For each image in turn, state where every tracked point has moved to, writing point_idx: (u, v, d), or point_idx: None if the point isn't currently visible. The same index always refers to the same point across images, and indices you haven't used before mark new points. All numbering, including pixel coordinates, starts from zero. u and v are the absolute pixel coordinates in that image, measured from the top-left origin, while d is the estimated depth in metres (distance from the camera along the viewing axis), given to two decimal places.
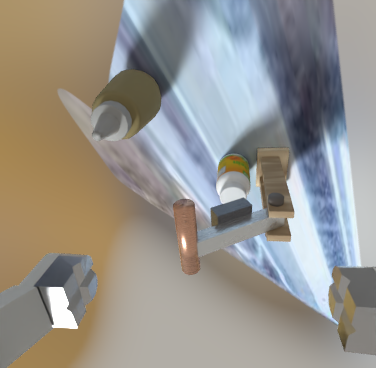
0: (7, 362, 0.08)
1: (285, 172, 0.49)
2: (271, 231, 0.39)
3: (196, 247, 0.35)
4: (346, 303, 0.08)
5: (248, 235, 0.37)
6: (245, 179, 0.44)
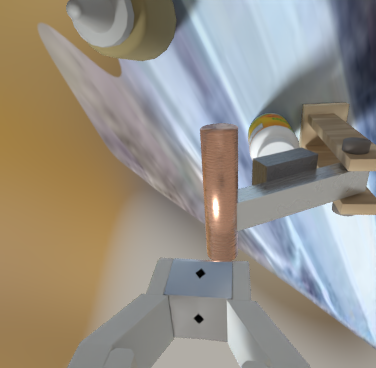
0: None
1: None
2: (347, 199, 0.25)
3: (236, 211, 0.20)
4: None
5: (315, 200, 0.23)
6: (293, 135, 0.31)
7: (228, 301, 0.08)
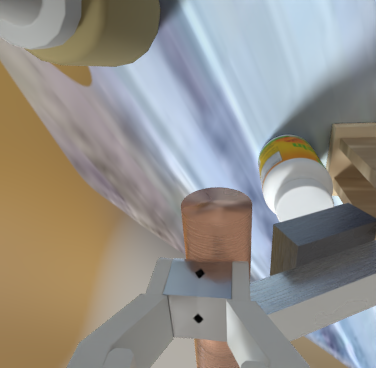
0: None
1: None
2: None
3: None
4: None
5: (375, 298, 0.14)
6: (326, 173, 0.22)
7: (227, 301, 0.08)
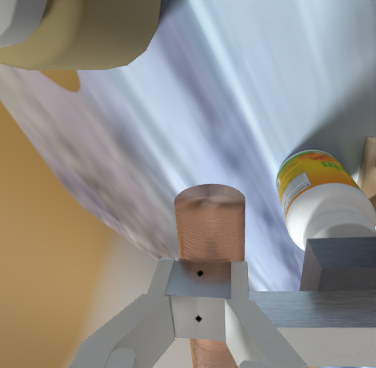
0: None
1: None
2: None
3: None
4: None
5: None
6: (368, 203, 0.18)
7: (226, 301, 0.08)
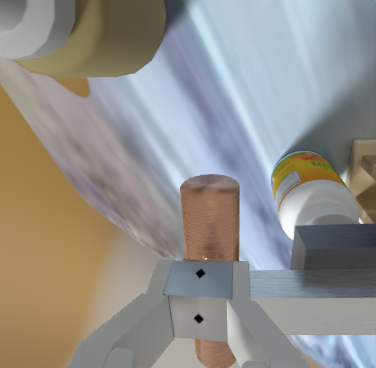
0: None
1: None
2: None
3: None
4: None
5: None
6: (352, 197, 0.20)
7: (228, 301, 0.08)
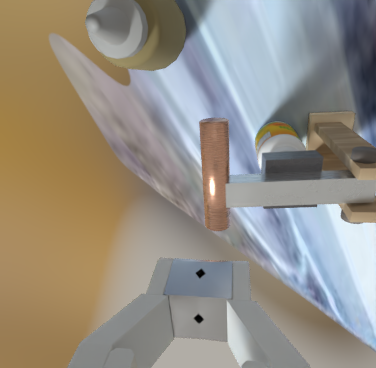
0: None
1: None
2: (356, 207, 0.25)
3: (223, 189, 0.25)
4: None
5: (308, 198, 0.25)
6: (301, 144, 0.32)
7: (228, 301, 0.08)
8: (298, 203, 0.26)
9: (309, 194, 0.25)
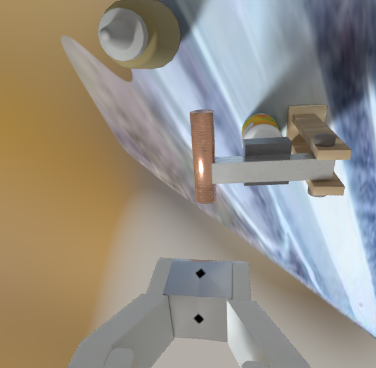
0: None
1: None
2: (318, 183, 0.31)
3: (210, 168, 0.31)
4: None
5: (279, 176, 0.31)
6: (278, 132, 0.37)
7: (228, 301, 0.08)
8: (271, 180, 0.31)
9: (280, 172, 0.31)
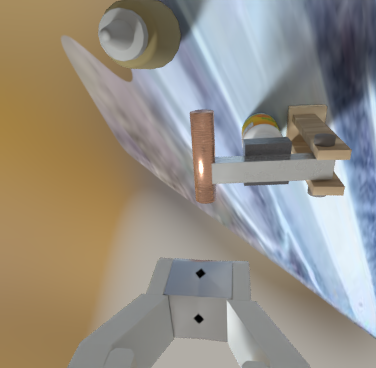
0: None
1: None
2: (318, 183, 0.31)
3: (210, 168, 0.31)
4: None
5: (279, 176, 0.31)
6: (278, 132, 0.37)
7: (228, 301, 0.08)
8: (271, 180, 0.31)
9: (280, 172, 0.31)
